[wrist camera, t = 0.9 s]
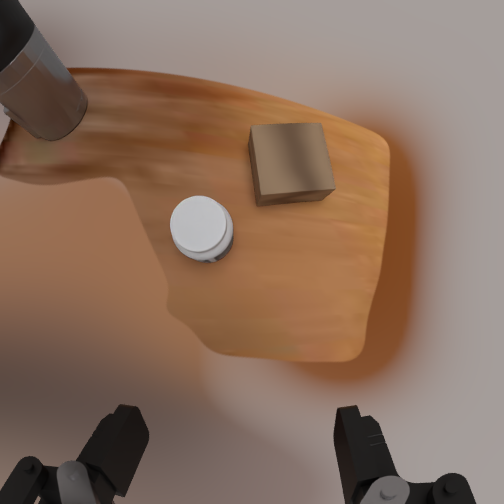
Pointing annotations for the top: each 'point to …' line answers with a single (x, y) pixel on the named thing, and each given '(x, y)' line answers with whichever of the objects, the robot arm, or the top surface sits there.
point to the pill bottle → (202, 229)
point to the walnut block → (290, 163)
